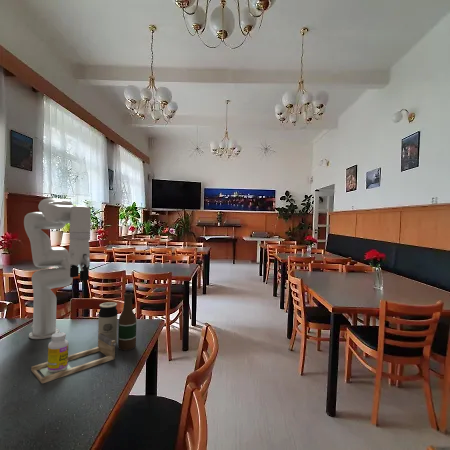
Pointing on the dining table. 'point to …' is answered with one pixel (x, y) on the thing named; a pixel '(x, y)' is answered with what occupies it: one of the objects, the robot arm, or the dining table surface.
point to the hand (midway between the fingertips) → (79, 278)
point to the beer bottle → (127, 325)
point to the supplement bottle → (58, 353)
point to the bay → (104, 346)
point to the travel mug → (108, 320)
